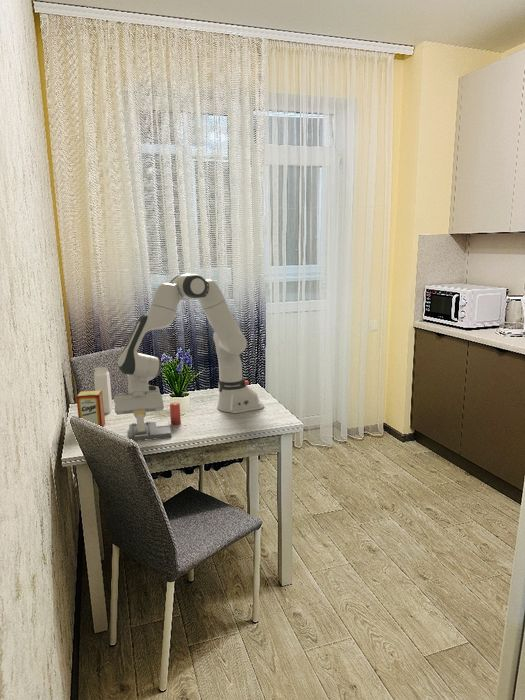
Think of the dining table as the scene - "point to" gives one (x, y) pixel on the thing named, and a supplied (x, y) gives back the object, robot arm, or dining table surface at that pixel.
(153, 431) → the panel
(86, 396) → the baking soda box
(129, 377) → the robot arm
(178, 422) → the cap
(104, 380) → the milk
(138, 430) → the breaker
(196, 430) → the dining table surface
